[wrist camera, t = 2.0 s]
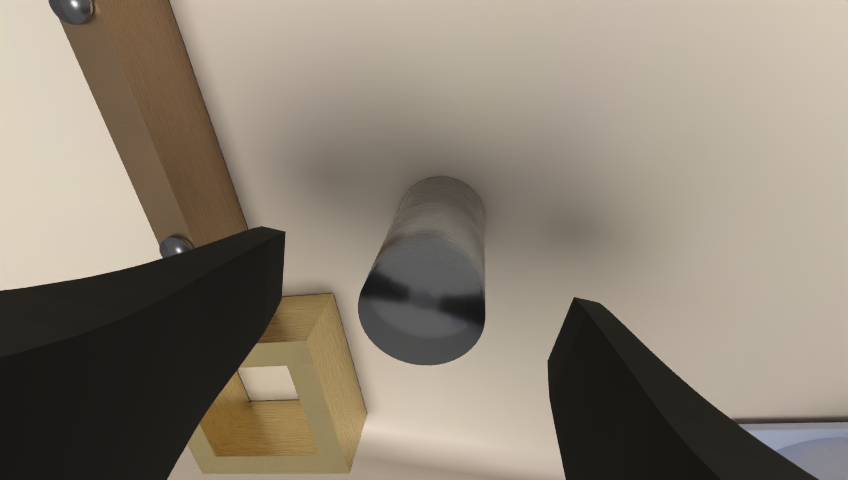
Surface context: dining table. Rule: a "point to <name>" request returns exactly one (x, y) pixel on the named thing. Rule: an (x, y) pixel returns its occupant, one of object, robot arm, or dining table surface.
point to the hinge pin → (429, 276)
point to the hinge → (205, 223)
